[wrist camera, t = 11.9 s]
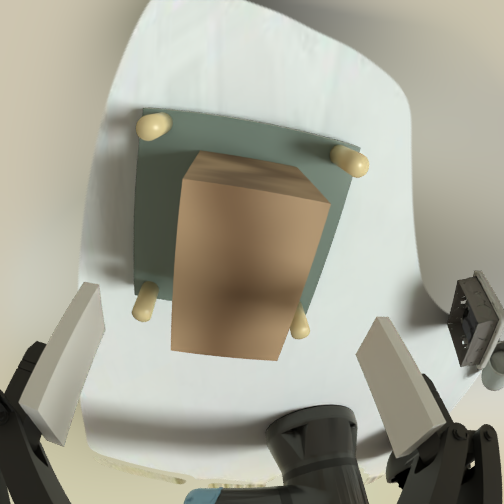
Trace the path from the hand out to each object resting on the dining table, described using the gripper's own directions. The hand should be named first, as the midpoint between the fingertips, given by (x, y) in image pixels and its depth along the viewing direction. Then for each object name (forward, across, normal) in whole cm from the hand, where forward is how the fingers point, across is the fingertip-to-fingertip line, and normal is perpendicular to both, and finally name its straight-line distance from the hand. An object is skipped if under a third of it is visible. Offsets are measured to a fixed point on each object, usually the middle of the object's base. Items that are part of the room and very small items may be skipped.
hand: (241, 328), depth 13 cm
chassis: (+13, 0, 0) cm, 13 cm away
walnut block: (+11, 0, 0) cm, 11 cm away
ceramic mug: (+13, -54, +17) cm, 58 cm away
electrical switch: (+13, -30, +6) cm, 33 cm away
